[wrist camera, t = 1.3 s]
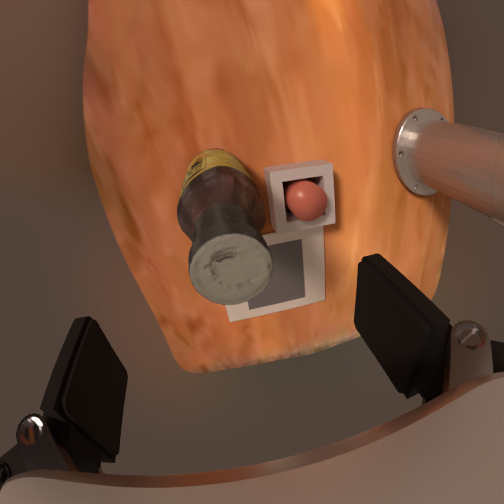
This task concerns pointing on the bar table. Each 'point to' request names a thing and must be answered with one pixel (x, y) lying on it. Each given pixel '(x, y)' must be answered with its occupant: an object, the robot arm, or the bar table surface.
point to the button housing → (295, 171)
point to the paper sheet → (289, 274)
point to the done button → (305, 199)
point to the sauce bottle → (224, 229)
